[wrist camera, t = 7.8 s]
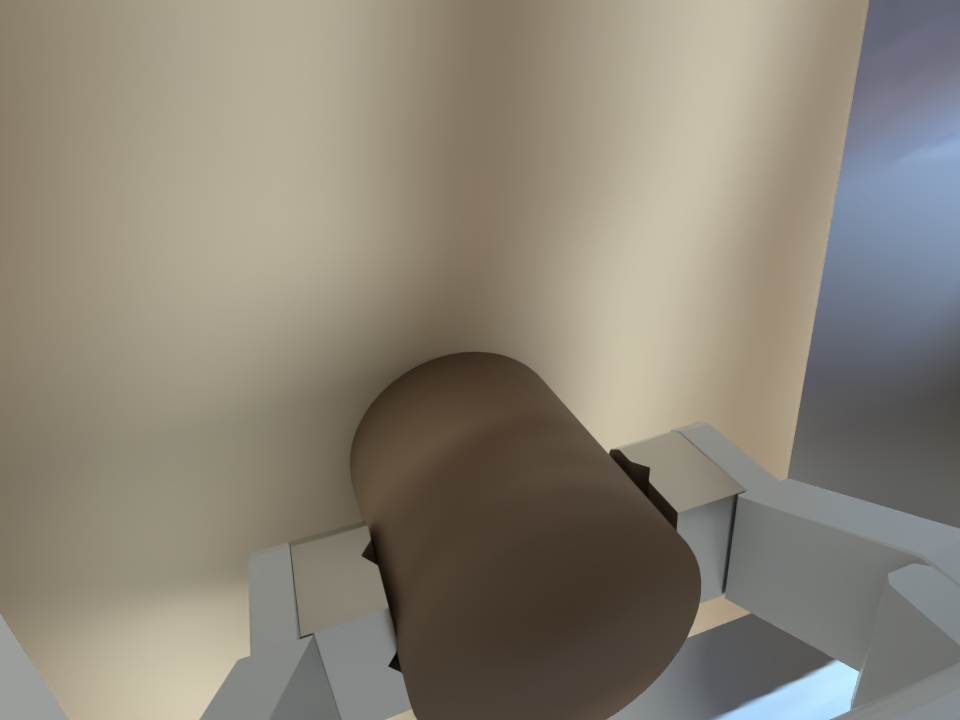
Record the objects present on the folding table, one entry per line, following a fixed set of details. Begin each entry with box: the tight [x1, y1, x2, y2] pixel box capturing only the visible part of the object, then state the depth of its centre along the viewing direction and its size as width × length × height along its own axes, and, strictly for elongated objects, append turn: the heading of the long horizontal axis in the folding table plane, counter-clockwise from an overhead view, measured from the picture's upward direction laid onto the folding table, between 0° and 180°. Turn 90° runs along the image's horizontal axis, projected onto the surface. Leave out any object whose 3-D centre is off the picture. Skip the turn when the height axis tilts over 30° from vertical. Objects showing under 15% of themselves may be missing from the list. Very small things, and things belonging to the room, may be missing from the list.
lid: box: [0, 0, 869, 720], centre depth 9 cm, size 14×14×5 cm
